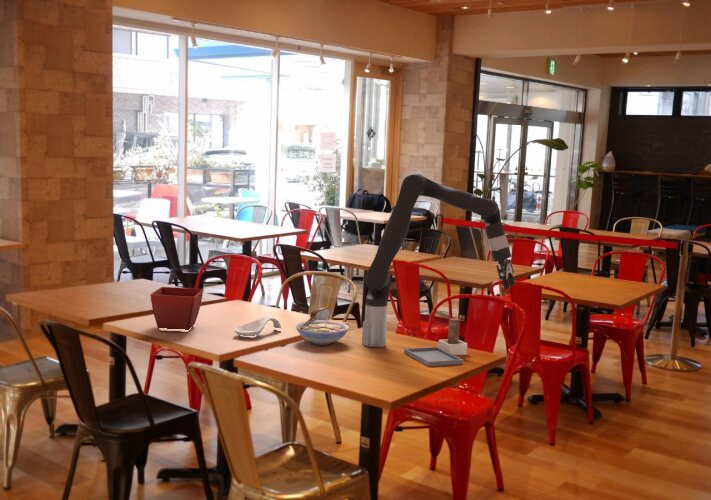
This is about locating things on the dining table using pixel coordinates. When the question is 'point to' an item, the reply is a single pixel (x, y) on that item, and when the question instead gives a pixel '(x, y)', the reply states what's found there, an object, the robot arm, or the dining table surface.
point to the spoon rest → (256, 326)
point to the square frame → (454, 347)
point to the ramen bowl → (321, 331)
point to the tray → (433, 356)
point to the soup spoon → (320, 314)
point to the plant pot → (176, 307)
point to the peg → (453, 331)
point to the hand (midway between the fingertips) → (510, 286)
